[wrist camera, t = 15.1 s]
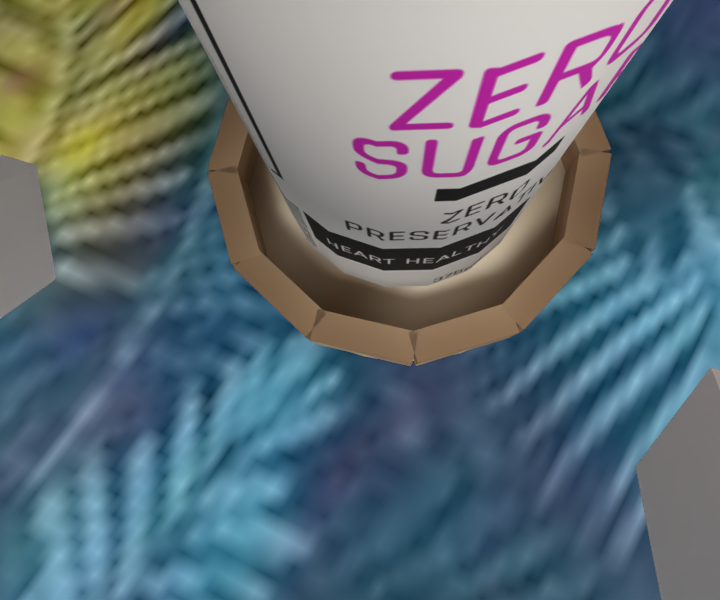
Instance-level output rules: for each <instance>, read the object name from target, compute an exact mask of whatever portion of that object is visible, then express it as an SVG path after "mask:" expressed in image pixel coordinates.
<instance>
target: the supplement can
mask: <svg viewBox="0 0 720 600" xmlns="http://www.w3.org/2000/svg"><path fill="white" fill-rule="evenodd" d="M672 1H673V0H178V2H179V3H180V5H181V7H182V9H183V11H184V13H185V15H186V17H187V18H188V20H189V22H190V24H191V26H192V28H193V30H194V31H195V33H196V35H197V37H198V39H199V41H200V43H201V45H202V46H203V48H204V50H205V52H206V54H207V56H208V58H209V59H210V61H211V63H212V65H213V67H214V69H215V71H216V73H217V74H218V76H219V78H220V80H221V82H222V84H223V86H224V87H225V89H226V91H227V93H228V95H229V97H230V99H231V101H232V102H233V104H234V106H235V108H236V110H237V112H238V114H239V115H240V117H241V119H242V121H243V123H244V125H245V127H246V129H247V130H248V132H249V134H250V136H251V138H252V140H253V142H254V144H255V145H256V147H257V149H258V151H259V153H260V155H261V157H262V158H263V160H264V162H265V164H266V166H267V168H268V170H269V172H270V173H271V175H272V177H273V179H274V181H275V183H276V185H277V186H278V188H279V190H280V192H281V194H282V196H283V198H284V200H285V201H286V203H287V205H288V207H289V209H290V211H291V213H292V214H293V216H294V218H295V219H296V221H297V223H298V224H299V226H300V228H301V230H302V231H303V233H304V235H305V236H306V238H307V240H308V241H309V243H310V245H311V246H312V248H313V249H315V250H316V251H317V252H318V253H320V254H321V255H322V256H323V257H325V258H326V259H327V260H328V261H330V262H331V263H332V264H333V265H335V266H336V267H337V268H338V269H340V270H341V271H342V272H343V273H345V274H348V275H351V276H354V277H357V278H360V279H363V280H366V281H369V282H372V283H375V284H378V285H381V286H384V287H399V286H429V285H432V284H434V283H437V282H440V281H442V280H445V279H447V278H450V277H453V276H455V275H458V274H461V273H463V272H466V271H468V270H469V269H471V268H472V267H473V266H474V265H475V264H476V263H477V262H479V261H480V260H481V259H482V258H483V257H484V256H486V255H487V254H488V253H489V252H490V251H491V250H493V249H494V248H495V247H496V246H497V245H498V244H500V242H501V241H502V239H503V238H504V237H505V235H506V234H507V232H508V231H509V230H510V228H511V227H512V225H513V224H514V223H515V221H516V220H517V218H518V217H519V216H520V214H521V213H522V211H523V210H524V209H525V207H526V206H527V204H528V203H529V202H530V200H531V199H532V197H533V196H534V195H535V193H536V192H537V190H538V189H539V188H540V186H541V185H542V183H543V182H544V181H545V179H546V178H547V176H548V175H549V174H550V172H551V171H552V169H553V168H554V167H555V165H556V164H557V162H558V161H559V160H560V158H561V157H562V155H563V154H564V152H565V151H566V150H567V148H568V147H569V145H570V144H571V143H572V141H573V140H574V138H575V137H576V136H577V134H578V133H579V131H580V130H581V129H582V127H583V126H584V124H585V123H586V122H587V120H588V119H589V117H590V116H591V115H592V113H593V112H594V110H595V109H596V108H597V106H598V105H599V103H600V102H601V101H602V99H603V98H604V96H605V95H606V94H607V92H608V91H609V89H610V88H611V87H612V85H613V84H614V82H615V81H616V80H617V78H618V77H619V75H620V74H621V73H622V71H623V70H624V68H625V67H626V66H627V64H628V63H629V61H630V60H631V58H632V57H633V56H634V54H635V53H636V51H637V50H638V49H639V47H640V46H641V44H642V43H643V42H644V40H645V39H646V37H647V36H648V35H649V33H650V32H651V30H652V29H653V28H654V26H655V25H656V23H657V22H658V21H659V19H660V18H661V16H662V15H663V14H664V12H665V11H666V9H667V8H668V7H669V5H670V4H671V2H672Z"/></svg>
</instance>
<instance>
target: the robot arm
mask: <svg viewBox="0 0 720 600" xmlns="http://www.w3.org/2000/svg"><path fill="white" fill-rule="evenodd" d="M55 279H56V276H55V270H54V264H53V258H52V253H51V247H50V241H49V235H48V230H47V224H46V218H45V212H44V207H43V201H42V195H41V189H40V184H39V178H38V172H37V166H36V165H34V164H30V163H27V162H24V161H20V160H17V159H14V158H10V157H7V156H4V155H1V156H0V318H2V317H3V316H5V315H6V314H7V313H9V312H10V311H12V310H13V309H14V308H16V307H17V306H19V305H20V304H21V303H23V302H24V301H26V300H27V299H29V298H30V297H31V296H33V295H34V294H36V293H37V292H38V291H40V290H41V289H43V288H44V287H45V286H47V285H48V284H50V283H51V282H52V281H54V280H55ZM636 471H637V476H638V481H639V486H640V491H641V497H642V502H643V507H644V512H645V517H646V522H647V528H648V533H649V538H650V543H651V548H652V554H653V559H654V564H655V569H656V574H657V579H658V585H659V590H660V595H661V600H720V370H717V369H714V368H710V369H709V371H708V372H707V373H706V375H705V376H704V377H703V379H702V380H701V381H700V382H699V384H698V385H697V386H696V388H695V389H694V390H693V392H692V393H691V394H690V396H689V397H688V398H687V400H686V401H685V402H684V404H683V405H682V406H681V408H680V409H679V410H678V411H677V413H676V414H675V415H674V417H673V418H672V419H671V421H670V422H669V423H668V425H667V426H666V427H665V429H664V430H663V431H662V433H661V434H660V435H659V437H658V438H657V439H656V440H655V442H654V443H653V444H652V446H651V447H650V448H649V450H648V451H647V452H646V454H645V455H644V456H643V458H642V459H641V460H640V462H639V463H638V464H637V466H636Z"/></svg>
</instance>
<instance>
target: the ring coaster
mask: <svg viewBox="0 0 720 600" xmlns="http://www.w3.org/2000/svg"><path fill="white" fill-rule="evenodd" d="M610 149H611V147H610V145H609V142H608V140H607V138H606V135H605V133H604V130H603V128H602V126H601V123H600V121H599V118H598V116H597V114H596V111H595V110H594V112H593V113H592V115H591V116H590V117H589V119H588V120H587V122H586V123H585V124H584V126H583V127H582V129H581V130H580V131H579V133H578V134H577V136H576V137H575V138H574V140H573V141H572V143H571V144H570V145H569V147H568V148H567V150H566V151H565V152H564V154H563V155H562V157H561V158H560V160H559V161H558V162H557V164H556V165H555V167H554V168H553V169H552V171H551V172H550V174H549V175H548V176H547V178H546V179H545V181H544V182H543V183H542V185H541V186H540V188H539V189H538V190H537V192H536V193H535V195H534V196H533V197H532V199H531V200H530V202H529V203H528V204H527V206H526V207H525V209H524V210H523V211H522V213H521V214H520V216H519V217H518V218H517V220H516V221H515V223H514V224H513V225H512V227H511V228H510V230H509V231H508V232H507V234H506V235H505V237H504V238H503V239H502V241H501V242H500V244H498V245H497V246H496V247H495V248H494V249H493V250H491V251H490V252H489V253H488V254H487V255H486V256H484V257H483V258H482V259H481V260H480V261H479V262H477V263H476V264H475V265H474V266H473V267H472V268H471V269H469V270H468V271H466V272H463V273H461V274H458V275H455V276H453V277H450V278H447V279H445V280H442V281H440V282H437V283H434V284H432V285H429V286H399V287H384V286H381V285H378V284H375V283H372V282H369V281H366V280H363V279H360V278H357V277H354V276H351V275H348V274H345V273H343V272H342V271H341V270H340V269H338V268H337V267H336V266H335V265H333V264H332V263H331V262H330V261H328V260H327V259H326V258H325V257H323V256H322V255H321V254H320V253H318V252H317V251H316V250H315V249H313V248H312V246H311V245H310V243H309V241H308V240H307V238H306V236H305V235H304V233H303V231H302V230H301V228H300V226H299V224H298V223H297V221H296V219H295V218H294V216H293V214H292V213H291V211H290V209H289V207H288V205H287V203H286V201H285V200H284V198H283V196H282V194H281V192H280V190H279V188H278V186H277V185H276V183H275V181H274V179H273V177H272V175H271V173H270V172H269V170H268V168H267V166H266V164H265V162H264V160H263V158H262V157H261V155H260V153H259V151H258V149H257V147H256V145H255V144H254V142H253V140H252V138H251V136H250V134H249V132H248V130H247V129H246V127H245V125H244V123H243V121H242V119H241V117H240V115H239V114H238V112H237V110H236V108H235V106H234V104H233V102H232V101H231V99H230V97H229V99H228V102H227V105H226V109H225V112H224V115H223V119H222V122H221V125H220V129H219V132H218V135H217V139H216V142H215V145H214V149H213V152H212V155H211V159H210V162H209V165H208V169H209V171H210V173H208V177H209V181H210V185H211V189H212V192H213V196H214V200H215V204H216V208H217V212H218V215H219V219H220V223H221V227H222V231H223V235H224V238H225V242H226V246H227V250H228V254H229V258H230V262H231V264H232V265H233V266H234V269H235V270H236V271H237V272H238V273H239V274H240V275H241V276H242V277H243V278H244V279H245V280H247V281H248V282H249V283H250V284H251V285H252V286H253V287H254V288H255V289H256V290H257V291H258V292H259V293H260V294H261V295H262V296H263V297H264V298H265V299H266V300H267V301H268V302H269V303H270V304H272V305H273V306H274V307H275V308H276V309H277V310H278V311H279V312H280V313H281V314H282V315H283V316H284V317H285V318H286V319H287V320H288V321H289V322H290V323H291V324H292V325H293V326H294V327H296V328H297V329H298V330H299V331H300V332H301V333H302V334H303V335H304V336H305V337H306V338H308V339H309V340H310V341H313V342H314V343H316V344H318V345H323V346H327V347H331V348H335V349H340V350H344V351H348V352H351V353H355V354H358V355H361V356H365V357H371V358H377V359H382V360H386V361H391V362H395V363H399V364H403V365H408V366H411V364H412V361H414V362H415V366H417V365H421V364H424V363H427V362H430V361H434V360H437V359H440V358H444V357H447V356H451V355H455V354H459V353H462V352H465V351H467V350H470V349H473V348H477V347H480V346H483V345H487V344H490V343H493V342H496V341H500V340H503V339H506V338H509V337H511V336H513V335H515V334H517V333H519V332H520V331H522V330H524V329H525V328H526V327H527V326H528V325H529V323H530V322H531V321H532V320H533V319H534V318H535V317H536V316H537V315H538V314H539V312H540V311H541V310H542V309H543V308H544V307H545V306H546V305H547V304H548V303H549V301H550V300H551V299H552V298H553V297H554V296H555V295H556V294H557V293H558V292H559V290H560V289H561V288H562V287H563V286H564V285H565V284H566V283H567V282H568V280H569V279H570V278H571V277H572V276H573V275H574V274H575V273H576V272H577V271H578V269H579V268H580V267H581V266H582V265H583V264H584V263H585V262H586V261H587V260H588V258H589V257H590V256H591V255H592V253H591V252H592V251H593V250H594V249H595V247H596V241H597V235H598V229H599V223H600V218H601V212H602V206H603V200H604V195H605V189H606V183H607V177H608V172H609V166H610V160H611V153H607V152H608V151H609V150H610Z"/></svg>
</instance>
